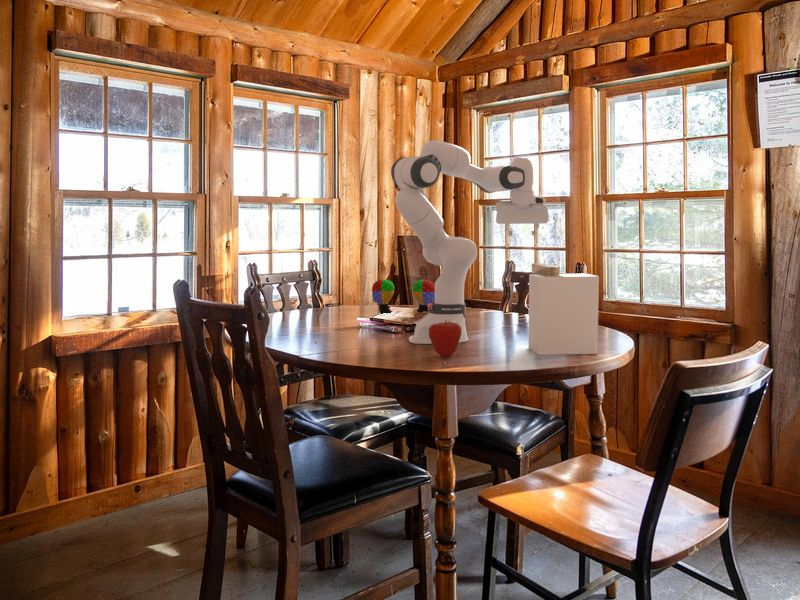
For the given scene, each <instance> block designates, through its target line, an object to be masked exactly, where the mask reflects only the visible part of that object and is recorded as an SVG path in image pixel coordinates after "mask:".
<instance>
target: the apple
mask: <svg viewBox="0 0 800 600" xmlns="http://www.w3.org/2000/svg"><path fill="white" fill-rule="evenodd" d="M429 337H430V340H431V342H432V344H431V345H432V347H433V349H434V352H435V353H437V354H438V355H439V356H440V357H445V358H447V357H451V356H453V355H454V353H455V352H456V350H457V347H458V345H459V340H460V337H461V327H460V326H459V324H457V323H452V322H446V321H445V323H437V324H433V325H432V326H431V327H430V328H429Z"/></svg>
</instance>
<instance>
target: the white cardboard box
mask: <svg viewBox="0 0 800 600" xmlns="http://www.w3.org/2000/svg"><path fill="white" fill-rule="evenodd" d="M528 283H529V284H528V349H530V350H531V351H532V352H534V353H535V354H536V355H539V356H540V355H541V356H543V355H544V356H546V355H548V356H549V355H551V356H552V355H597V354H598V346H599V345H598V336H599V293H600V292H599V291H600V290H599V287H600V276H599V275H595V274H590V273H560V276H546V275H542V274H538V273H532V274H531V273H529V275H528Z"/></svg>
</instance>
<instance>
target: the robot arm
mask: <svg viewBox="0 0 800 600" xmlns="http://www.w3.org/2000/svg"><path fill="white" fill-rule="evenodd" d="M471 161H472V159H471V155H470V153H469V151H467V150H466V149H464V148H463V147H461V146H458V145H456V144H453V143H449V142H446V141H441V140H429V141H427V142H426V143H424V144H423V146H422V147H421V150H420V154H419V155H418V156H407V157H406V156H405V157H400V158H398V159H397V160H396V161H394V163H392V165H391V168H390V175H391V180H392V181H393V184H394V187H395V189H396V190H397V191H398V192H397V194H396V195H395V197H394V203H395V206H396V208H397V211H398V212H399V214H401V217H402V218H403V219H404V221H405V222H406V224H408V226H409V227H410V229H411V230H412V231H413V232H414V233H415V235H416V236H417V238H418V239H419V241H420V243H421V245H422V256H423V258H424V260H425V261H426V262H427V263H430V264H432V265H435V266H439V267H441V268H442V269H441V273H440V275H439V276H438V278H437V279H436V281H435V282H434V285H435V301H434V303H429V305H428V308H429V309H428V313H427V315H426V317H424V318H423V319H422V320H421V321H419V322H418V323H417V324H416V325H415V328H414V332H413V335H410V336H409V337H408V342H410V343H412V344H417V345H420V344H421V345H422V344H423V345H424V344H425V345H427V344H428V345H432V342H431V340H430V337H429V328H430V327H431V326H432V325H433V324H437V323H445V321H446V322H452V323H457V324H459V326H460V327H461V337H460V340H459V343H465V342H468V341H469V337H468V334H467V328H466V319H465V318H466V314H467V313H466V312H467V311H466V310H467V309H466V303H465V284H466V277H467V276H468V275H467V274H468V271H469V269H470V267H471V266H472V265H473V263H474V262H475V261H476V259H477V256H478V248H477V245H476V243H475V242H474V241H472V240H471V239H468V238H466V237H463V236H451V235H450V236H449V235H448V234H447V232H446V231H445V229H444V225H445V222H444V219H443V217H442V216H441V215H440V213H439V212H438V211H437V209H436V208H435V206H434V205H433V204H432V202H430V201H429V200H428V199H427V197H426V195H425V192H424V189H427V188H430V187H432V186H434V185H435V184H437V182H438V180H439V177H440V174H442V175H445V176H450V177H453V178H459V179H462V180H465V181H467V182H469V183H473V184H474V185H476V186H477V188H479V189H480V190H481V191H482V192H484V193H486V194H493V193H497V192H506V191H510V199H506V200H505V199H500V200H499V201H497V202H496V203H495V210H496V215H495V223H496V224H497V225H504V227H505V230H506V231H507V236H508V237H510V236H511V237H512V236H513V231H512V230H511V229H510V225H512V224H513V225H517V224H518V225H520V224H521V225H523V224H525V225H526V224H528V225H529V224H530V225H531V224H534V230H531V236H537V231H538V229H539V228H540V224H542V225H543V224H544V225H546V224H547V223H548V222H549V209H548V207H547V206H548V205H546V203H547V200H546V198H545V197H544V198H543V197H541V196H537V195H535V190H534V183H535V169H534V162H533V161H532V160H531V159H530V158H528V157H524V156H516V157H514V158H513V159H512V160H511V161H509V162H507V163H506V164H503V165H498V166H487V167H483V168H481V167H478V166H476V165H474V164H472V162H471ZM459 343H458V344H459Z"/></svg>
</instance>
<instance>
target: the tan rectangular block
mask: <svg viewBox="0 0 800 600" xmlns="http://www.w3.org/2000/svg"><path fill="white" fill-rule="evenodd" d="M560 270H561V268H560V266H556V265H551V264H546V263H540V262H539V263H536V262H533V263H531V272H532V273H534V274H542V275H546V276H560V274H561V273H560V272H561V271H560Z"/></svg>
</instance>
